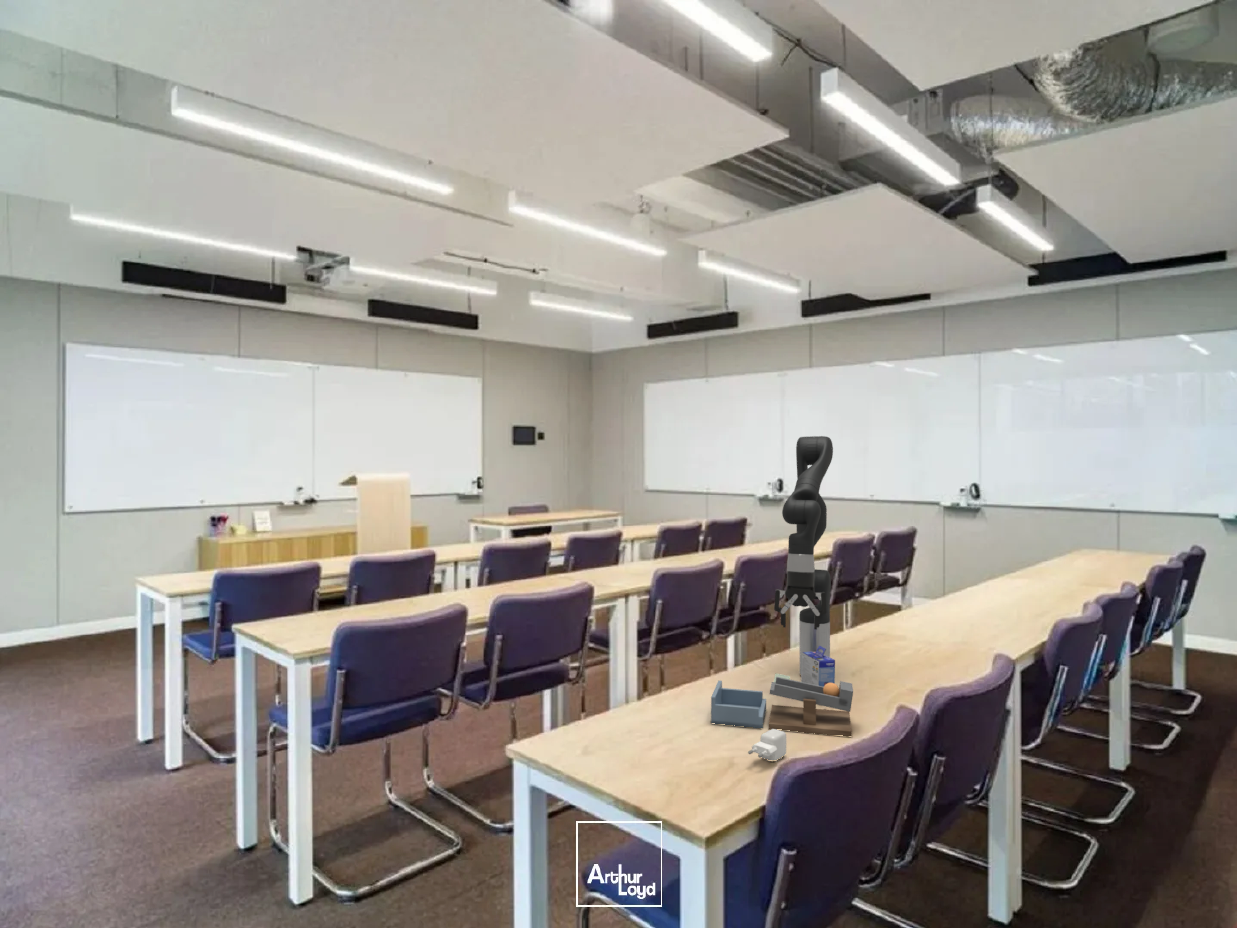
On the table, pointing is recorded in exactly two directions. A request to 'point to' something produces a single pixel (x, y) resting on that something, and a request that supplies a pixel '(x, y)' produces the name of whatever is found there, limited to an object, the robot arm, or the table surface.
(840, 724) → the lever stand
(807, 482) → the robot arm
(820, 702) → the lever
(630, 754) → the table surface
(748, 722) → the bin
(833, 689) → the ball
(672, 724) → the table surface
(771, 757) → the power adapter
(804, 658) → the ink cartridge box
